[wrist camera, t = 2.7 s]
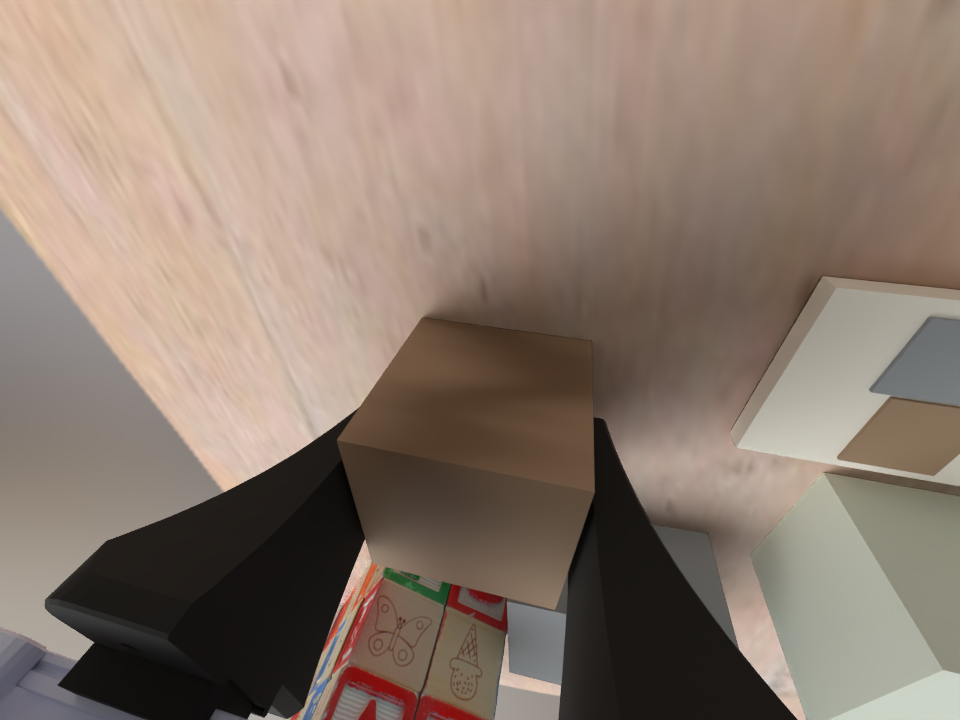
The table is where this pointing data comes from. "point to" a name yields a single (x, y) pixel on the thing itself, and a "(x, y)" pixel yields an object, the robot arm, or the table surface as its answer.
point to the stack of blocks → (410, 652)
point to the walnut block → (477, 458)
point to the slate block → (543, 629)
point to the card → (865, 383)
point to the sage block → (867, 599)
